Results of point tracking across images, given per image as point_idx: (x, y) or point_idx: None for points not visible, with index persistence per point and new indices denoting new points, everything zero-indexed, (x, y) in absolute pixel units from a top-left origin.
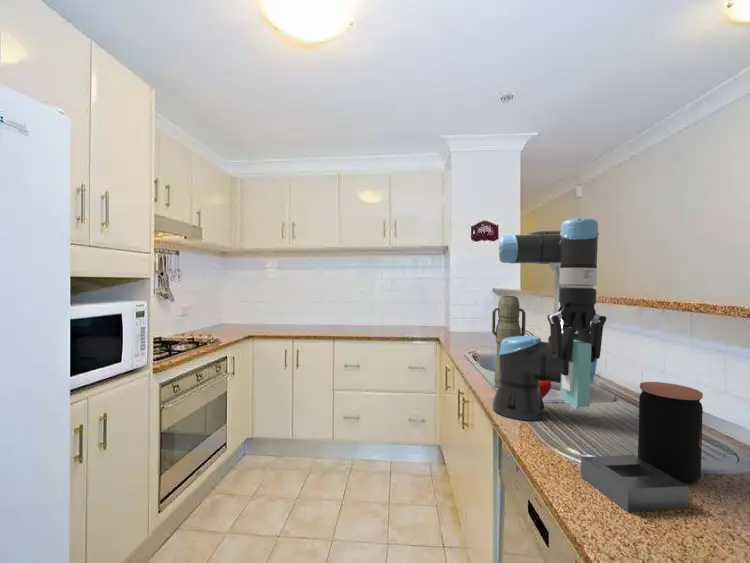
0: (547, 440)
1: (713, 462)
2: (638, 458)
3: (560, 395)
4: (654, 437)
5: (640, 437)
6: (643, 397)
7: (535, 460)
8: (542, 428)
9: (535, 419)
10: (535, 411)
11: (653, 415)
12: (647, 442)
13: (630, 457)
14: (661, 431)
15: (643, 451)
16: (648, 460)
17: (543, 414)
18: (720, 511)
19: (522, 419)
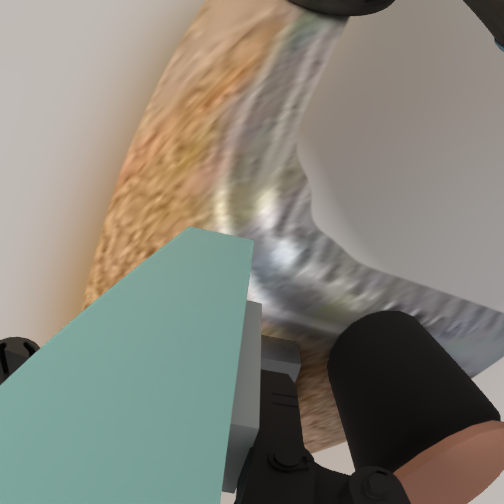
0: (250, 133)
1: (485, 340)
2: (294, 378)
3: (185, 229)
4: (342, 414)
5: (355, 368)
6: (385, 456)
7: (126, 225)
8: (307, 61)
9: (333, 14)
10: (339, 1)
11: (354, 451)
12: (342, 387)
13: (279, 371)
14: (346, 437)
15: (341, 362)
16: (332, 367)
17: (374, 9)
18: (306, 440)
19: (292, 1)
